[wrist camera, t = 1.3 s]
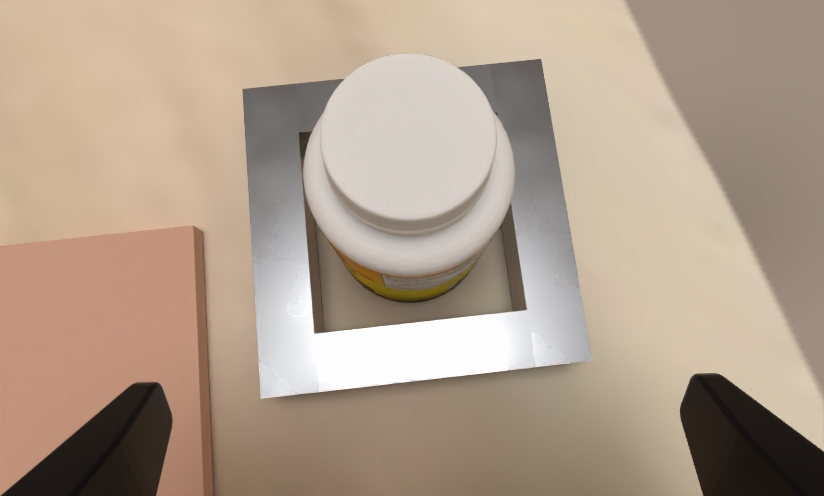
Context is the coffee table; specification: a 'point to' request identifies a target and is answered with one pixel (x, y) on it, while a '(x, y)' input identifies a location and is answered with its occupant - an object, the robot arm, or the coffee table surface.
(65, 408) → the tile
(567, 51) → the coffee table surface
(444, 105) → the supplement bottle
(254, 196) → the frame
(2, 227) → the coffee table surface
